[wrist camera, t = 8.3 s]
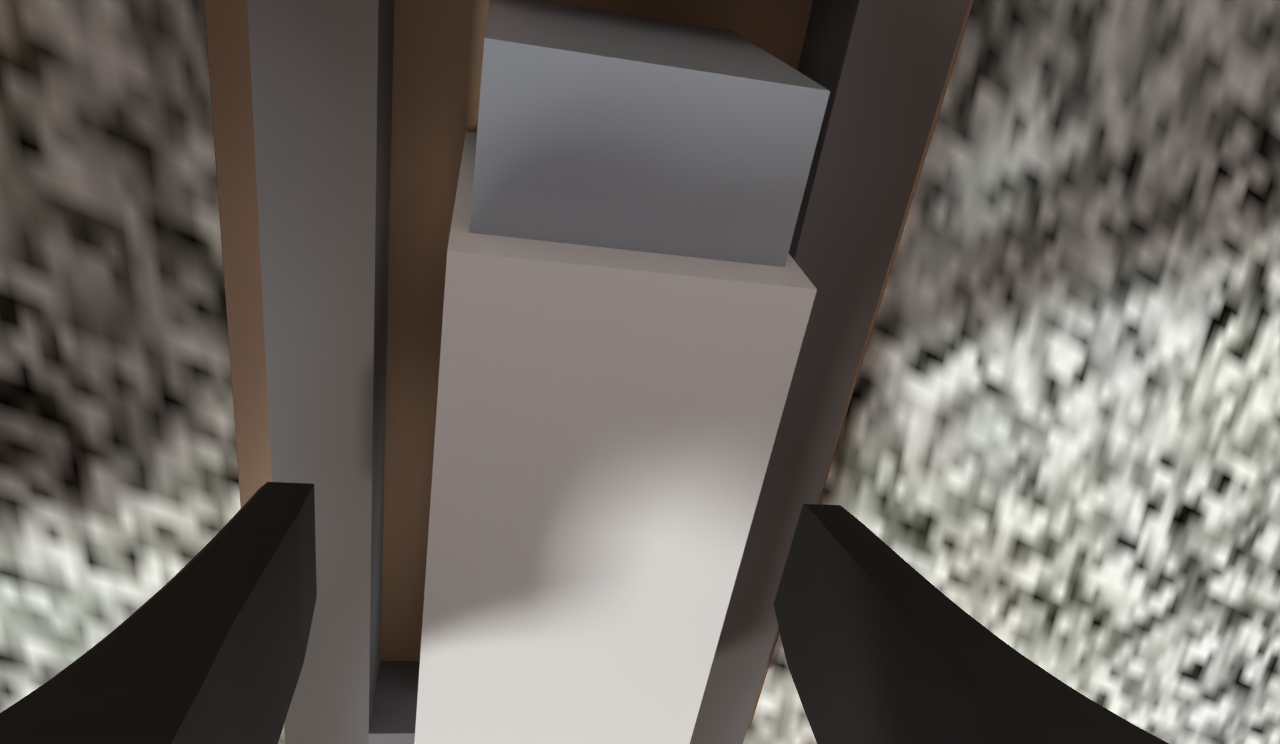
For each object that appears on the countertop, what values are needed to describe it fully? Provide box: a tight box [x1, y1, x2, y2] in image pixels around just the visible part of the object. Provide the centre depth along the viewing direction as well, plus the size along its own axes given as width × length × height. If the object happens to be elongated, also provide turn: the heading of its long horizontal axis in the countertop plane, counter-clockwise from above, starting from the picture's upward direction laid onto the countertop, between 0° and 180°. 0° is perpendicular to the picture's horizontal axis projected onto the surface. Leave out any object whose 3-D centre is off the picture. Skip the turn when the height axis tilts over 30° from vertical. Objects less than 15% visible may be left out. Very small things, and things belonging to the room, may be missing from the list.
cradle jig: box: [204, 0, 974, 744], centre depth 15 cm, size 11×18×3 cm, turn 171°
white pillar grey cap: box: [414, 0, 830, 744], centre depth 13 cm, size 4×12×5 cm, turn 171°
